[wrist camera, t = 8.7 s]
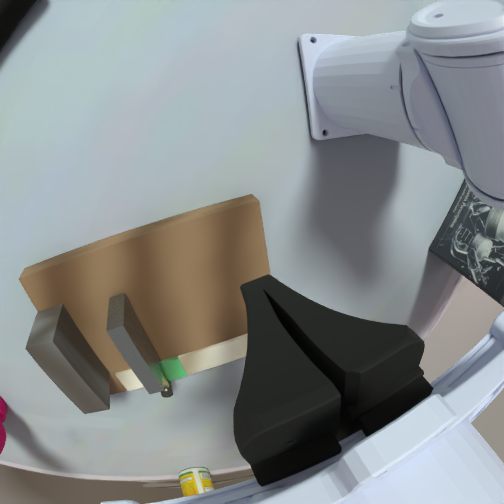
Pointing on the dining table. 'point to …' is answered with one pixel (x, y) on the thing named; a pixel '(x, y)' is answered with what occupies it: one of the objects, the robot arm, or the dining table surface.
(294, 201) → the dining table surface
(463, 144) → the robot arm
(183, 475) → the supplement bottle
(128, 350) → the pad
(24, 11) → the electric trimmer
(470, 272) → the small box
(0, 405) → the pepper mill
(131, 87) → the dining table surface
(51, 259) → the board
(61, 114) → the dining table surface
